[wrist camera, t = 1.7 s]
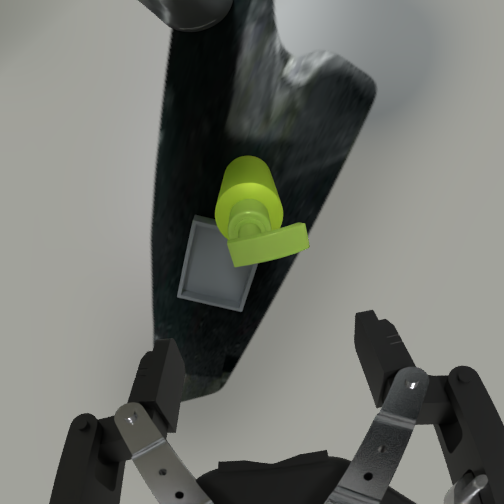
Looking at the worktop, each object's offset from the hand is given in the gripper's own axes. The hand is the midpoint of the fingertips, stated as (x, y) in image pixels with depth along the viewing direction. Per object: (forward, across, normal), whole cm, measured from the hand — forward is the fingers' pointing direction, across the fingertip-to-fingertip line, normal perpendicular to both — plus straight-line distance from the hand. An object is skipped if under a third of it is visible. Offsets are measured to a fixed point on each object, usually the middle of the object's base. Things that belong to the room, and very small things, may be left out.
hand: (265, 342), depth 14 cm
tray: (+29, +6, +11) cm, 32 cm away
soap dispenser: (+29, 0, 0) cm, 29 cm away
